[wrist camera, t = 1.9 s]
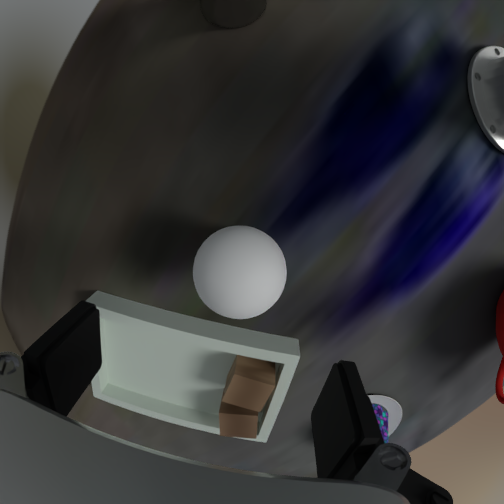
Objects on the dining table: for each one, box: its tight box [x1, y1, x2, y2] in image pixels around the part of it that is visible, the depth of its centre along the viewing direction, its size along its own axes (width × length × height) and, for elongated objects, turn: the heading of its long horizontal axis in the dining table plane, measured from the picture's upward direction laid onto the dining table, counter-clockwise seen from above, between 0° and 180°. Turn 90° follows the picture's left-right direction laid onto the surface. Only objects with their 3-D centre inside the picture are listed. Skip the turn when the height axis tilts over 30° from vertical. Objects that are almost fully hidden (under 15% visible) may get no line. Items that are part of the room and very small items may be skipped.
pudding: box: [368, 395, 402, 443], centre depth 32 cm, size 12×12×5 cm
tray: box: [86, 290, 300, 443], centre depth 31 cm, size 22×14×3 cm, turn 78°
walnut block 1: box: [222, 355, 275, 412], centre depth 29 cm, size 4×4×4 cm
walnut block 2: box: [219, 388, 258, 439], centre depth 31 cm, size 4×4×4 cm
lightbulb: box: [193, 226, 287, 319], centre depth 23 cm, size 6×6×11 cm
